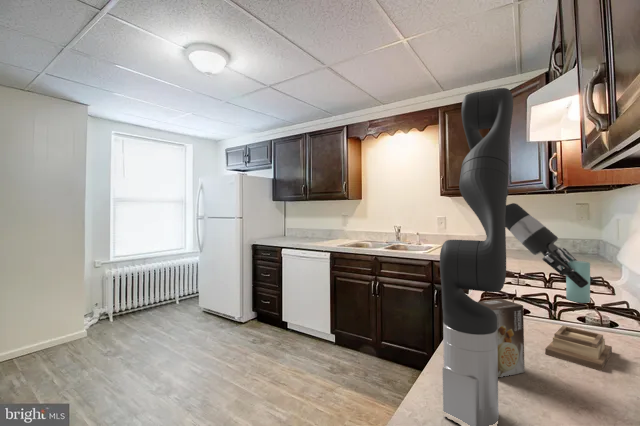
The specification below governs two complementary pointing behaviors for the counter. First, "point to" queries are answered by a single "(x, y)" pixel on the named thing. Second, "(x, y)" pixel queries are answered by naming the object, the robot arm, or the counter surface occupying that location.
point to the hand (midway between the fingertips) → (587, 283)
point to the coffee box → (509, 336)
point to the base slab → (576, 356)
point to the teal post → (573, 289)
